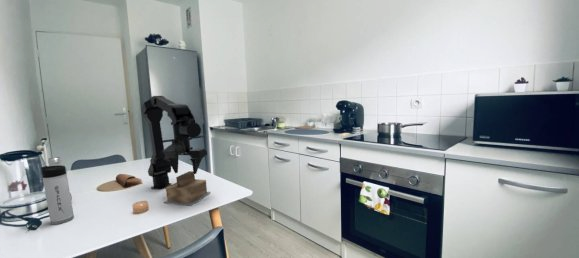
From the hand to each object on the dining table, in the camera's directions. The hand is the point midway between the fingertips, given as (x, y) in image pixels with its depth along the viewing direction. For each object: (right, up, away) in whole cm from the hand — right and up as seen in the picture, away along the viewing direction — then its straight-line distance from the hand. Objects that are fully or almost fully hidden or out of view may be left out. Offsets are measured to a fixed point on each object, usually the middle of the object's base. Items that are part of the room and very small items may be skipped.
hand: (185, 173), depth 105 cm
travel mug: (-39, -15, -14) cm, 43 cm away
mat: (0, -10, +1) cm, 11 cm away
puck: (-13, -13, -9) cm, 20 cm away
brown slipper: (-40, -10, +27) cm, 49 cm away
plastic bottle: (-51, -13, 0) cm, 53 cm away
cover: (0, -10, +1) cm, 10 cm away
